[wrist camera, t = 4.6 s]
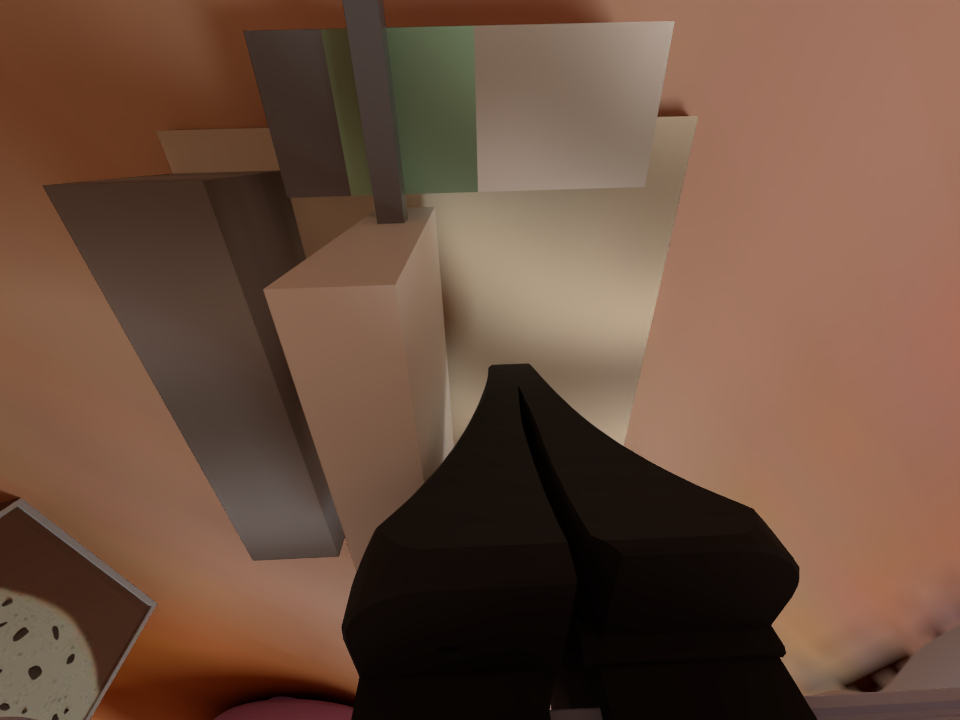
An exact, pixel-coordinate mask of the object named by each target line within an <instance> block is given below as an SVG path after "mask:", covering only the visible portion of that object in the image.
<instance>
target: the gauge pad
mask: <svg viewBox="0 0 960 720" xmlns="http://www.w3.org/2000/svg"><path fill="white" fill-rule="evenodd" d="M342 1H343V7H344V14H345V20H346V26H347V33H348V39H349V46H350V52H351V58H352V65H353V71H354V78H355V84H356V90H357V97H358V103H359V110H360V116H361V122H362V129H363V135H364V142H365V148H366V154H367V161H368V167H369V174H370V180H371V186H372V193H373V199H374V206H375V211H374V212H372V213H371V214H369V215H368V216H366V217H365V218H364V219H362V220H361V221H359V222H358V223H357V224H355V225H354V226H352V227H351V228H349V229H348V230H347V231H345V232H344V233H342V234H341V235H340V236H338V237H337V238H335V239H334V240H332V241H331V242H330V243H328V244H327V245H325V246H324V247H323V248H321V249H320V250H318V251H317V252H315V253H314V254H313V255H311V256H310V257H308V258H307V259H306V260H304V261H303V262H301V263H300V264H298V265H297V266H296V267H294V268H293V269H291V270H290V271H288V272H287V273H286V274H284V275H283V276H281V277H280V278H279V279H277V280H276V281H274V282H273V283H271V284H270V285H269V286H267V287H266V288H264V289H263V291H264V294H265V297H266V300H267V303H268V306H269V309H270V312H271V315H272V318H273V321H274V324H275V327H276V330H277V333H278V336H279V339H280V342H281V345H282V348H283V351H284V354H285V357H286V360H287V363H288V366H289V369H290V372H291V375H292V378H293V381H294V384H295V387H296V390H297V393H298V396H299V399H300V402H301V405H302V408H303V411H304V414H305V417H306V420H307V423H308V426H309V429H310V432H311V435H312V438H313V441H314V444H315V447H316V450H317V453H318V456H319V459H320V462H321V465H322V468H323V471H324V474H325V477H326V481H327V484H328V487H329V490H330V493H331V496H332V499H333V502H334V505H335V508H336V511H337V514H338V517H339V520H340V523H341V526H342V529H343V532H344V535H345V538H346V541H347V544H348V547H349V550H350V553H351V556H352V559H353V562H354V565H355V568H356V571H357V570H358V567H359V565H360V562H361V560H362V557H363V555H364V552H365V550H366V548H367V546H368V543H369V541H370V539H371V537H372V535H373V533H374V531H375V529H376V528H377V527H378V526H379V525H380V524H381V523H382V522H384V521H385V520H386V519H387V518H388V517H389V516H390V515H391V514H393V513H394V512H395V511H396V510H397V509H398V508H399V507H400V506H402V505H403V504H404V503H405V502H406V501H407V500H408V499H409V498H410V497H411V496H412V495H413V494H414V493H415V492H416V491H417V490H418V489H419V488H420V487H421V486H422V485H423V484H424V483H425V482H426V480H427V479H428V478H429V477H430V476H431V475H432V474H433V473H434V472H435V471H436V470H437V468H438V467H439V466H440V465H441V463H442V462H443V461H444V460H445V458H446V457H447V456H448V454H449V453H450V452H451V450H452V449H453V448H454V439H453V427H452V414H451V402H450V389H449V377H448V364H447V352H446V339H445V327H444V314H443V302H442V289H441V277H440V264H439V252H438V239H437V227H436V214H435V207H410V208H407V205H406V197H405V188H404V179H403V171H402V162H401V154H400V145H399V136H398V128H397V119H396V110H395V102H394V93H393V84H392V76H391V67H390V59H389V50H388V41H387V33H386V24H385V15H384V7H383V0H342Z"/></svg>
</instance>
